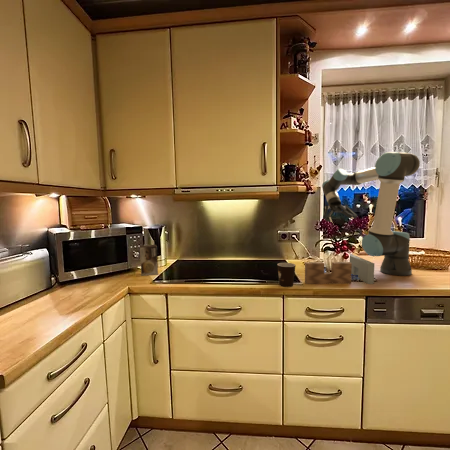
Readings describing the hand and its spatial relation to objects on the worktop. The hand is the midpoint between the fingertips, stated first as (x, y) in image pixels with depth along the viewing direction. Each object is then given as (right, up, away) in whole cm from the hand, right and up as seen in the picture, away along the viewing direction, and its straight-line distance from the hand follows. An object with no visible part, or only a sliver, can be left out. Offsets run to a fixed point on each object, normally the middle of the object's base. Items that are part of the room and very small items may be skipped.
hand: (343, 226), depth 169 cm
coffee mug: (-40, -28, -28) cm, 56 cm away
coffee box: (-112, -27, -6) cm, 116 cm away
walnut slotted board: (-19, -28, -26) cm, 42 cm away
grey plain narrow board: (+1, -26, -17) cm, 31 cm away
